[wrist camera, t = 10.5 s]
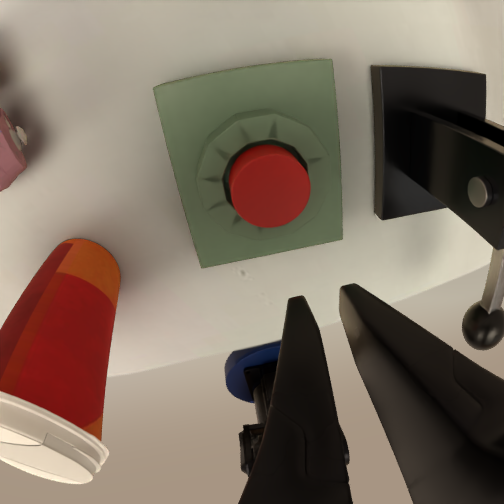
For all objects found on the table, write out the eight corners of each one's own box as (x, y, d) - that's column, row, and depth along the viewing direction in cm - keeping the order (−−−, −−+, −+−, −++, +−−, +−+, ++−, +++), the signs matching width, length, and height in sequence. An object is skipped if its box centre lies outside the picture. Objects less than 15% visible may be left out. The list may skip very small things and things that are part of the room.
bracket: (467, 195, 21) (550, 266, 13) (373, 212, 21) (454, 308, 13) (475, 71, 16) (586, 108, 8) (370, 65, 16) (492, 90, 8)
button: (304, 204, 17) (313, 220, 15) (235, 218, 17) (238, 235, 15) (297, 138, 15) (307, 148, 13) (222, 151, 15) (224, 162, 13)
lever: (481, 322, 18) (506, 349, 15) (449, 336, 18) (473, 367, 15) (511, 150, 13) (552, 167, 10) (475, 153, 13) (520, 170, 10)
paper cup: (52, 309, 22) (2, 468, 11) (27, 224, 18) (-76, 394, 7) (143, 313, 24) (125, 495, 12) (132, 223, 19) (73, 438, 8)
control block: (334, 226, 21) (353, 255, 19) (201, 253, 21) (201, 287, 18) (321, 58, 15) (346, 59, 12) (157, 85, 15) (145, 90, 12)
